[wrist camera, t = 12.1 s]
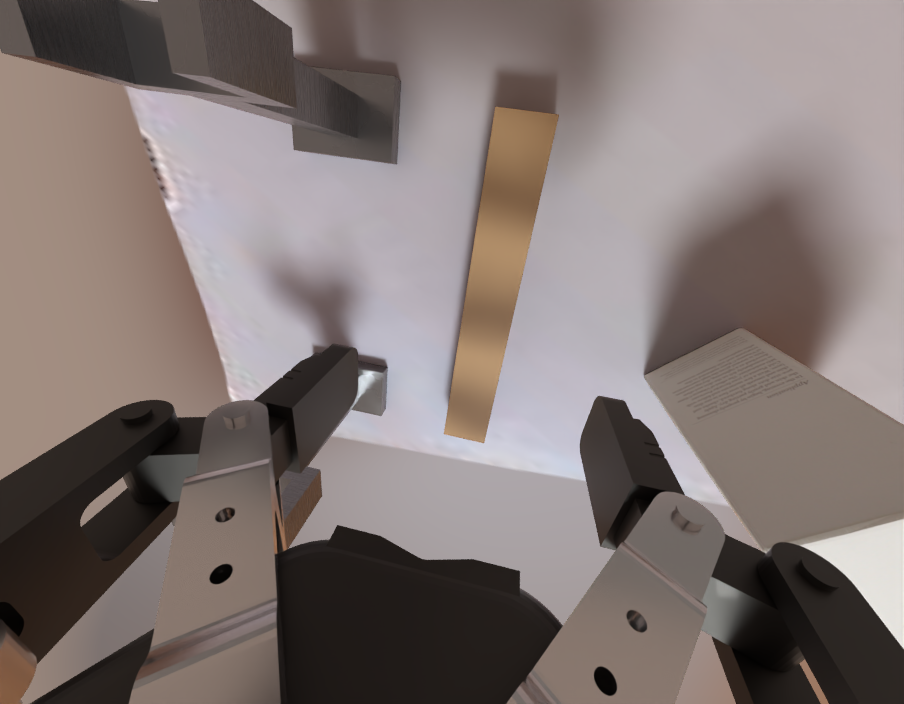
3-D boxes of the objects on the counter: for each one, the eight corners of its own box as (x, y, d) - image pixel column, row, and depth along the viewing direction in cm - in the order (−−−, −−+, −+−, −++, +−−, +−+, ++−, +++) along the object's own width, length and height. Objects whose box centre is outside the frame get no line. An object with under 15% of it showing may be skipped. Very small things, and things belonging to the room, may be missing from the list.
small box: (794, 416, 23) (1083, 653, 11) (694, 454, 25) (844, 679, 14) (742, 322, 21) (1023, 489, 9) (640, 373, 23) (760, 555, 12)
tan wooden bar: (499, 118, 19) (495, 106, 16) (553, 125, 19) (558, 114, 16) (451, 410, 28) (443, 434, 25) (487, 418, 28) (484, 443, 25)
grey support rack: (298, 70, 19) (-68, -129, 7) (400, 81, 19) (185, -115, 7) (318, 394, 29) (176, 538, 17) (385, 408, 28) (287, 569, 16)
